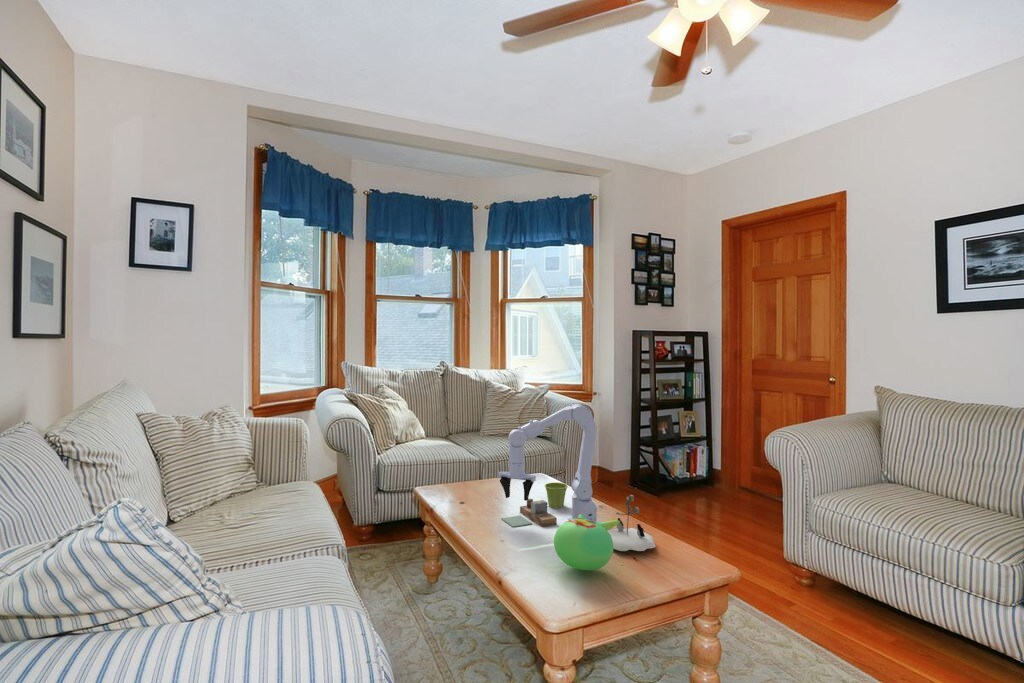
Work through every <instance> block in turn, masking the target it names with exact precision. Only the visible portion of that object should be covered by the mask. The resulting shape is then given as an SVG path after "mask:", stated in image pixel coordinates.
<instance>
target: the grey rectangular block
mask: <svg viewBox="0 0 1024 683" xmlns="http://www.w3.org/2000/svg"><path fill="white" fill-rule="evenodd" d="M547 512H548V501H546V500H544V499H541V500H540V499H539V500H535V501H534V500H533V502H531V513H533V514H535V515H537V514H543V513H547Z"/></svg>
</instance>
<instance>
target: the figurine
mask: <svg viewBox="0 0 1024 683" xmlns="http://www.w3.org/2000/svg"><path fill="white" fill-rule="evenodd" d="M634 499H635V497H634V495H633V494H630V495H628V496H626V502H625V506H626V507H627V513H621V512H618V511H616V513H615V514H616V515H619V516H625V517H626V516H627V520H626V521H627V523H626V528H625V524H624V523H623V520H621V518H620V517H619V518H617V520H619V521H620V523H619V524H618V525H616V528H610V529H609V530H607V531H608V532H609V533H610V535H611V537H612V540H613V550H616V551H620V552H627V551H629V550H632V551H637V552H644V551H646V550H647V549H654V548H656V547H657V546H656V544H655V540H654V537H653V536H652V535H650V534H648V533H647V532H645V530H644V528H643V527H642V526H641V524H639V523H637V524H636V528H633V527H630V528H629V518H630V517H629V516H630V514H631V515H632V514H633V515H637V514H638V515H639V514H640V508H639V507H638V506H635V507H634V508H633V507H632V506H631V504H630V502H634Z"/></svg>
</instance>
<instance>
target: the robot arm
mask: <svg viewBox="0 0 1024 683" xmlns="http://www.w3.org/2000/svg"><path fill="white" fill-rule="evenodd" d="M573 420H574V422H576V423H578V425H579V426H580V428H581V429H582V436H581V443H580V449H579V457H578V464H577V471H576V472H575V475H574V478H573V480H572V481H571V490H572V491H573V493H572V496H571V498H572V499H571V500H572V501H571V505H572V506H571V511H572V513H571V517H568V518H567V521H569V520H572V519H577V518H578V516H579V515H580V514H581V515H583V516H584V517H585V518H586V519H588V520H592V521H594V522H598V519H597V517H598V516H597V515H598V514H597V513H598V512H597V505H596V504H595V502H594V501H593V499H592V495H593V493H594V492H593V487H592V476H591V474H592V473H591V472H592V466H593V465H592V464H593V461H594V460H593V459H594V452H595V444H596V439H597V438H596V437H597V431H598V425H597V423H596V421H595V419H594V416H593V414H592V411H590V410H589V409H588V408H587V407H586V406H584V405H582V404H580V403H577V402H575V403H573V404H570V405H567V406H565V407H563V408H561V409H558V411H556V412H554V413H553V414H550V415H548V416H546V417H545V418H543V419H541V420H537V419H529V421H528V423H526V424H524V425H522V426H520V425H519V426H518V427H517V428H518V429H512V430H511V431H510V433H509V434H508V436H507V439H508V441H509V450H508V453H509V454H508V467H509V468H508V469H509V470H508V471H498V478H499V482H500V484H501V486H502V488H503V492H504V495H505V498H506V499H509V498H510V497H511V496H510V495H511V480H518V481H519V480H522V481H523V482H522V486H523V500H524V501H526V502H527V500H528V499H529V497H530V492H531V489H532V487H533V484H534V483H535V482H536V480H537V479H536V478H537V477H536V476H537V475H535V474H530V473H526V472H525V447H524V445H525V444H526V442H528V441H530V440H532V439H534V438H536V437H538V436H539V435H540V436H541V435H542V434H543V433H544V430H545V429H547V428H549V427H551V426H553V425H555V424H558V423H561V422H562V421H568V422H573Z"/></svg>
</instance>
